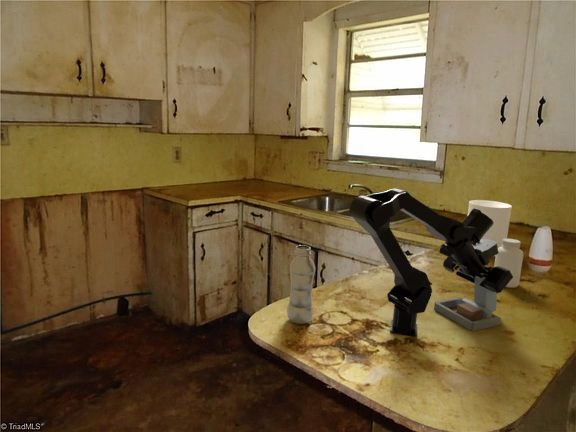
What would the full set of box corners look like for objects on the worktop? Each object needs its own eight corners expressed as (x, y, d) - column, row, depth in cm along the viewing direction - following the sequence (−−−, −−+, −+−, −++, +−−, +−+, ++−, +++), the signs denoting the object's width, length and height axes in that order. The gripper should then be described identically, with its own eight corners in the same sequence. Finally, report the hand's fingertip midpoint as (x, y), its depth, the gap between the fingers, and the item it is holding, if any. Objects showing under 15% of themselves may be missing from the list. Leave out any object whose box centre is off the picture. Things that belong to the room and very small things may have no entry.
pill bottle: (496, 277, 147) (503, 235, 144) (521, 284, 142) (529, 241, 138) (487, 283, 142) (494, 239, 138) (513, 290, 136) (521, 245, 133)
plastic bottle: (297, 313, 114) (300, 241, 110) (317, 321, 110) (321, 247, 106) (281, 321, 109) (284, 247, 105) (302, 330, 105) (306, 253, 101)
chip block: (470, 322, 113) (471, 312, 112) (456, 314, 118) (457, 304, 117) (481, 320, 115) (482, 309, 114) (466, 312, 119) (468, 302, 119)
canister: (492, 245, 187) (499, 200, 182) (512, 257, 171) (520, 208, 167) (456, 244, 186) (462, 199, 182) (473, 255, 170) (480, 207, 166)
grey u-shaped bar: (471, 331, 108) (472, 324, 108) (432, 308, 120) (433, 302, 120) (499, 324, 112) (500, 318, 112) (459, 303, 124) (460, 297, 124)
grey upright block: (487, 321, 113) (488, 284, 110) (461, 307, 121) (461, 272, 118) (504, 314, 116) (505, 277, 113) (477, 301, 124) (478, 266, 121)
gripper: (514, 240, 103) (536, 278, 110) (456, 222, 120) (478, 256, 127) (486, 274, 102) (510, 310, 109) (431, 251, 118) (455, 283, 125)
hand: (488, 287), depth 117 cm, fingers closed on grey upright block, 4 cm apart
